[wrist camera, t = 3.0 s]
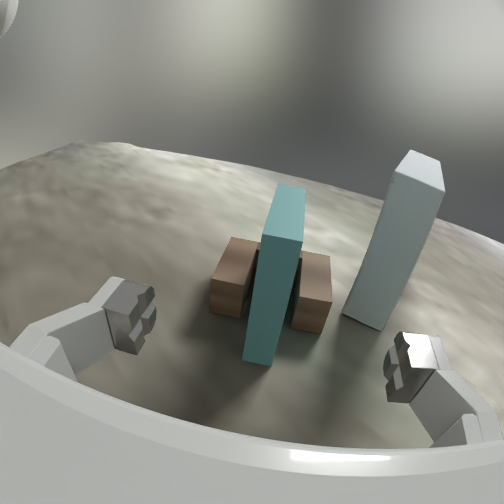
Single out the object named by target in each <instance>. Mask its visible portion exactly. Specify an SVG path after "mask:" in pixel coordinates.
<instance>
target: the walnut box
mask: <svg viewBox="0 0 504 504" xmlns="http://www.w3.org/2000/svg"><path fill="white" fill-rule="evenodd" d="M260 245H261V243H260V242H255V241H249V240H244V239H239V238H234V237H231V239H230V241H229V243H228V245H227V247H226V249H225V251H224V253H223V255H222V257H221V259H220V261H219V263H218V265H217V268H216V270H215V272H214V274H213V276H212V278H211V291H210V310H209V312H213V313H218V314H222V315H227V316H231V317H236V318H240V316H241V313H242V310H243V306H244V303H245V300H246V297H247V293H248V290H249V287H250V283H251V280H255V276H256V270H257V264H258V257H259V251H260ZM292 288H295V292H294V302H293V311H292V320H291V328H290V329H296V330H301V331H307V332H313V333H318V334H321V333H322V330H323V327H324V324H325V322H326V319H327V316H328V313H329V311H330V308H331V305H332V285H331V269H330V256H326V255H321V254H316V253H311V252H306V251H301V252H300V256H299V260H298V264H297V269H296V273H295V277H294V281H293V285H292Z"/></svg>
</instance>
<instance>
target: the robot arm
mask: <svg viewBox="0 0 504 504" xmlns="http://www.w3.org/2000/svg"><path fill="white" fill-rule="evenodd" d="M17 8H18V0H0V38H1V37H2V36H3V35H4V34H5V33H6V31H7V30H8V29H9V27H10V25H11V24H12V22H13V20H14V18H15V15H16V12H17ZM154 297H155V294H154V288H153V287H152V286H149V285H145V284H141V283H138V282H134V281H130V280H127V279H126V280H125V279H122V278H118V277H115V276H114V277H111V278H109V280H108V281H107V282H106V283H105V284H104V285H103V286H102V288H101V289H100V290H99V291H98V292H97V293H96V294H95V296H94V297H93V298H92V299H91V300H90V301H89V303H88V304H87V303H82V304H79V305H77V306H74V307H72V308H69V309H67V310H64V311H62V312H59V313H57V314H54V315H52V316H49V317H47V318H44V319H42V320H39V321H37V322H35V323H32V324H30V325H28V326H27V327H26V329H25V330H24V331H23V332H22V333H21V334H20V335H19V337H18V338H17V339H16V340H15V341H14V342H13V344H12V345H11V346H10V347H8V346H6V345H4V344H3V343H1V342H0V504H504V439H503V436H502V432H501V429H500V425H499V422H498V418H497V415H496V412H495V410H494V409H493V408H492V407H491V406H490V405H489V404H488V403H487V402H486V401H485V400H484V399H483V398H482V397H481V396H480V395H479V394H478V393H477V392H476V391H475V390H474V389H473V388H472V387H471V386H470V385H469V384H468V383H467V382H466V381H465V380H464V379H463V378H462V377H461V376H460V375H459V374H458V373H457V372H456V371H455V370H452V369H451V366H450V363H449V360H448V357H447V354H446V351H445V348H444V346H443V343H442V340H441V338H440V337H439V336H438V335H430V334H418V333H409V332H399V333H398V334H397V335H396V337H395V339H394V342H395V346H393V347H392V348H390V349H389V350H388V352H387V354H386V356H385V360H384V365H383V371H384V376H385V377H386V378H387V380H388V381H389V382H388V383H387V385H386V393H387V401H388V402H396V403H410V404H409V405H410V407H411V408H412V410H413V411H414V413H415V414H416V416H417V417H418V419H419V420H420V422H421V423H422V425H423V426H424V428H425V429H426V431H427V432H428V434H429V435H430V437H431V438H432V440H433V441H434V443H433V444H432V445H431V446H430V447H429V448H418V449H360V448H341V447H328V446H317V445H308V444H299V443H291V442H284V441H277V440H271V439H265V438H259V437H253V436H248V435H243V434H238V433H233V432H228V431H224V430H219V429H215V428H211V427H207V426H203V425H199V424H195V423H191V422H188V421H184V420H180V419H177V418H174V417H170V416H167V415H164V414H160V413H157V412H154V411H151V410H148V409H145V408H142V407H139V406H136V405H133V404H130V403H128V402H125V401H122V400H119V399H117V398H114V397H112V396H109V395H106V394H104V393H101V392H99V391H97V390H94V389H92V388H89V387H87V386H85V385H82V384H80V383H79V382H78V380H77V378H76V376H75V375H76V374H78V373H80V372H81V371H83V370H84V369H86V368H88V367H89V366H91V365H92V364H94V363H96V362H97V361H99V360H100V359H102V358H104V357H105V356H107V355H108V354H110V353H111V352H113V351H115V349H117V350H120V351H123V352H127V353H130V354H133V355H138V353H139V351H140V350H141V348H142V346H143V344H144V343H145V339H144V336H145V335H147V334H149V333H150V332H151V331H152V329H153V327H154V324H155V320H156V306H155V305H154V303H153V302H152V300H153V298H154Z"/></svg>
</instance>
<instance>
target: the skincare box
mask: <svg viewBox="0 0 504 504" xmlns="http://www.w3.org/2000/svg"><path fill="white" fill-rule="evenodd" d="M444 194H445V188H444V182H443V176H442V171H441V165H440V161H437V160H435V159H432V158H430V157H428V156H425V155H423V154H420V153H418V152H415V151H413V150H410V151H409V152H408V154H407V155H406V156H405V158H404V159H403V160H402V161H401V163H400V164H399V165H398V167H397V168H396V169H395V171H394V173H393V176H392V179H391V183H390V186H389V189H388V192H387V195H386V198H385V201H384V204H383V207H382V210H381V213H380V216H379V218H378V221H377V224H376V227H375V230H374V233H373V236H372V239H371V241H370V244H369V247H368V249H367V252H366V255H365V257H364V260H363V262H362V265H361V267H360V270H359V272H358V275H357V277H356V279H355V282H354V284H353V286H352V289H351V291H350V293H349V295H348V298H347V300H346V302H345V304H344V307H343V309H342V313H343V314H345V315H347V316H350V317H352V318H354V319H356V320H358V321H360V322H362V323H364V324H366V325H368V326H370V327H373V328H375V329H377V330H380V331H381V330H382V329H383V327H384V325H385V324H386V322H387V320H388V318H389V316H390V314H391V313H392V311H393V309H394V307H395V305H396V303H397V301H398V299H399V297H400V295H401V294H402V292H403V290H404V288H405V286H406V283H407V281H408V279H409V277H410V275H411V273H412V271H413V269H414V267H415V264H416V262H417V260H418V258H419V256H420V253H421V251H422V249H423V246H424V244H425V242H426V239H427V237H428V235H429V232H430V230H431V227H432V225H433V222H434V220H435V217H436V214H437V212H438V209H439V206H440V203H441V200H442V198H443V195H444Z"/></svg>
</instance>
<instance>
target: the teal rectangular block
mask: <svg viewBox="0 0 504 504" xmlns="http://www.w3.org/2000/svg"><path fill="white" fill-rule="evenodd" d="M305 196H306V189H304V188H299V187H294V186H288V185H283V184H278V186H277V189H276V192H275V195H274V198H273V202H272V205H271V208H270V211H269V214H268V217H267V220H266V223H265V227H264V230H263V233H262V238H261V245H260V251H259V257H258V264H257V270H256V276H255V283H254V289H253V295H252V301H251V308H250V314H249V320H248V326H247V332H246V338H245V345H244V351H243V357H242V361H247V362H251V363H256V364H261V365H266V366H272V362H273V358H274V355H275V351H276V347H277V344H278V340H279V336H280V332H281V328H282V325H283V321H284V317H285V313H286V309H287V305H288V301H289V297H290V293H291V289H292V285H293V281H294V277H295V273H296V269H297V264H298V260H299V256H300V252H301V247H302V243H303V231H304V215H305Z"/></svg>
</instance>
